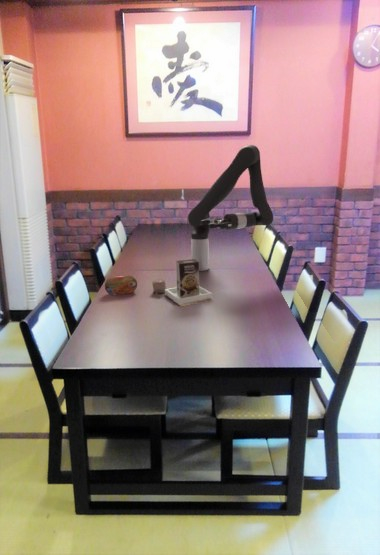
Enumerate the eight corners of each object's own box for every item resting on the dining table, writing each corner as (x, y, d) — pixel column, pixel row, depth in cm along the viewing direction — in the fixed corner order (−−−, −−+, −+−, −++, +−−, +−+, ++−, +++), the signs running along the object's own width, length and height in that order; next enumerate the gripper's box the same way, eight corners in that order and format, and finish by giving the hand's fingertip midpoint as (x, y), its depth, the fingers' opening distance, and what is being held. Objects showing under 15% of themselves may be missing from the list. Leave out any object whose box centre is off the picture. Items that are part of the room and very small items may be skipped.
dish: (164, 294, 217) (164, 289, 216) (195, 288, 224) (195, 283, 223) (179, 305, 203) (179, 299, 203) (211, 298, 210) (211, 293, 209)
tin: (105, 296, 219) (104, 278, 217) (105, 294, 222) (103, 277, 219) (137, 292, 223) (136, 275, 220) (136, 290, 226) (135, 273, 223)
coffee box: (180, 298, 209) (179, 264, 204) (176, 294, 215) (175, 260, 210) (200, 296, 212) (199, 261, 207) (195, 291, 218) (194, 258, 213)
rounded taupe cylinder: (152, 294, 220) (151, 284, 218) (154, 289, 226) (153, 279, 224) (165, 293, 219) (163, 283, 218) (167, 288, 225) (165, 278, 223)
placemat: (165, 294, 218) (165, 293, 218) (193, 289, 224) (193, 288, 224) (181, 306, 203) (181, 305, 203) (212, 300, 209) (212, 299, 209)
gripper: (227, 211, 232) (198, 213, 226) (243, 216, 220) (212, 219, 213) (227, 226, 235) (198, 229, 228) (242, 231, 222) (212, 235, 216)
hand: (205, 224), depth 221 cm, fingers open, 8 cm apart
